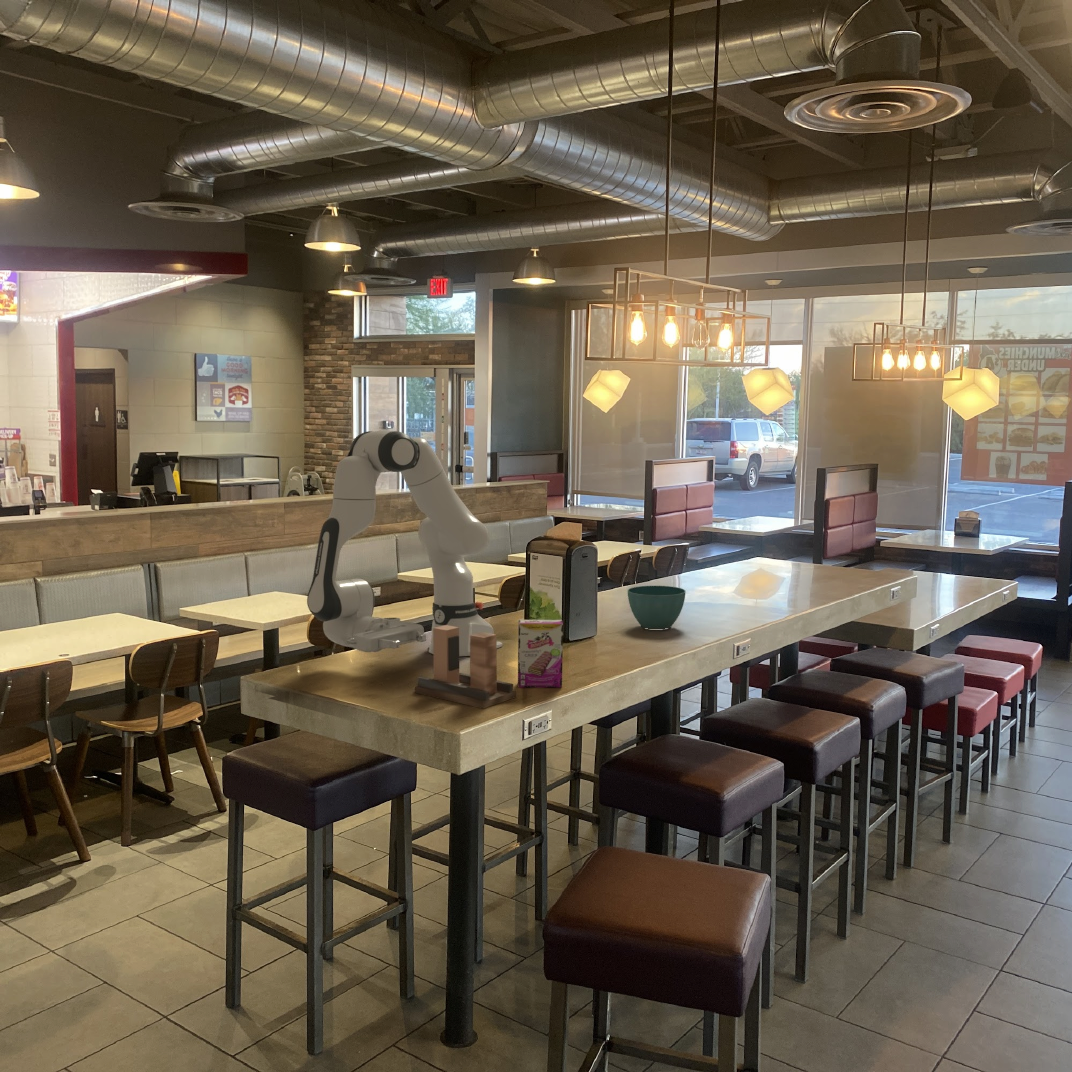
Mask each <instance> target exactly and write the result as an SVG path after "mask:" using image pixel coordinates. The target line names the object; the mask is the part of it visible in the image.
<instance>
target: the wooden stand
mask: <svg viewBox="0 0 1072 1072" xmlns="http://www.w3.org/2000/svg"><path fill="white" fill-rule="evenodd" d="M497 635H498V634H495V633H494V634H490V633H484V632H481V633H477V634H473V635H470V656H469V666H470V667H469V674H467V673H463V672H459V684H453V683H448V682H444V681H439V680H434V678H430V677H424V676H418V677H417V685H415V686H414V693H415V694H419V695H423V696H428V697H431V698H437V699H441V700H446V701H449V702H452V703H453V702H454V703H457V704H463V705H467V706H471V707H474V708H479V709H486V708H488V707H492V706H496V705H497V704H500V703H503V702H506V701H509V700H513V699H514V698H517V690H514V684H513V683H509V682H505V681H501V680H498V679H497V677H498V676H497V675H498V670H497V669H498V668H497V667H498V665H497V664H498V662H497V661H498V660H497V656H498V654H497V652H498V651H497V649H498V648H497V641H498V640H497V639H498V638H497V637H498V636H497Z"/></svg>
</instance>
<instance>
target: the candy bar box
mask: <svg viewBox="0 0 1072 1072" xmlns="http://www.w3.org/2000/svg"><path fill="white" fill-rule="evenodd" d="M563 622H564V621H563V620H562V619H518V623H517V625H518V628H517V630H518V633H517V635H518V637H517V687H518V688H563V661H564V660H563V651H564V650H563V649H564V648H563V647H564V646H563V645H564V643H563V642H564V641H563V640H564V638H563V637H564V624H563Z"/></svg>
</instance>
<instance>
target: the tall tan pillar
mask: <svg viewBox="0 0 1072 1072" xmlns="http://www.w3.org/2000/svg"><path fill="white" fill-rule="evenodd" d="M432 656H433V679H434V680H439V681H444V682H448V683H453V684H459V673H460V656H459V627H454V626H448V625H444V626H440V627H435V628H433V654H432Z"/></svg>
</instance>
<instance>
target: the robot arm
mask: <svg viewBox="0 0 1072 1072" xmlns="http://www.w3.org/2000/svg"><path fill="white" fill-rule="evenodd" d="M351 442H352V443H351V444H350V447H349V451H348V453H347V456H346V457H343V458H342V459H340V460H339V462H338V463H337V465H336V470H335V475H334V481H333V491H332V505H331V509H330V513H329V516H328V518H327V519H326V520H325V522H324V523H323V524H322V525H321V530H320V534H319V539H318V544H317V551H316V558H315V563H314V568H313V575H312V581H311V584H310V587H309V590H308V594H307V597H306V598H307V599H306V602H307V603H306V604H307V608H308V610H309V612H310V613H311V614H312V615H313V616H314V617H315V618H316V619H317V620H318V621H320V622H323V623H322V629H323V633H324V635H325V637H326V638H327V639H328V640H330V642H332V643H335V644H337V645H340V646H344V647H347V648H348V647H349V648H353V649H354V650H356V651H359V652H360V651H361V652H364V653H377V652H380V651H382V650H385V649H398V648H400V646H402V645H405V644H409V643H414V642H419V643H424V642H426V641H427V635H426V634H425V629H424V626H423V625H421V624H418V623H416V622H411V621H406V620H401V618H400V617H383V618H382V617H378V616H375V617H374V616H373V614H374V609H375V601H376V598H375V591H374V589H373V587H372V585H371V583H369V582H368V581H367V580H366V579H364V578H361V577H359V578H358V577H357V578H348V579H344V580H336V578H337V574H338V573H337V571H338V565H339V561H340V554H341V553H340V552H341V550H342V548H343V546H344V545H345V544H346V543H347V542H348V541H349V540H350V539H352V538H354V537H355V536H357V535H360V534H361V533H362V532H365V530H367V529H368V528H369V527H370V526H371V524H372V523H373V521H374V519H375V515H376V510H377V509H376V507H377V503H376V502H377V499H376V498H377V491H376V485H377V481H378V479H379V476H380V475H381V473H389V472H390V473H393V472H394V473H400V474H401V475H402V477H403V480H404V481H405V484H406V486H407V489H408V490H409V492H410V494H411V497H412V498H413V500H414V502H415V504H416V507H417V509H419V511H420V512H421V513H422V514H424V515H425V516H426V517H425V518H423V519H422V521H421V522H420V524H419V527H418V531H417V533H418V540H420V542H421V544H422V546H424V548H425V551H426V553H427V556H428V559H429V563H430V566H431V570H432V575H433V577H432V578H433V603H432V608H431V609H432V616H433V620H432V621H431V622H432V623H431V624H432V625H431V632H430V633H431V634H430V643H428V653H430V654H431V655H433V628H435V627H440V626H444V625H448V626H454V627H459V657H470V635H473V634H477V633H481V632H484V633H490V634H495V632H494V628H493V626H492V624H490V623H489V622H488V621H486V620H485V618H482V617H481V616H480V615H479V614H478V611H477V610H483V608H484V603H483V602H478V601H476V602H474V576H473V574H472V573H473V572H472V571H471V570H470V569H469V567H468V566H467V563H466V561H465V557H472V556H473V557H474V556H478V555H480V554H482V553H483V552H484V551H485V550H486V549H487V547H488V544H489V540H490V533H489V529H488V528H487V527H486V525H485V524H484V523H483V522H481V521H480V520H479V519H478V518H477V517H476V516H474V514H472V511H470V509H469V508H468V507H467V506H466V504H465V503H464V501H462V499H461V497H459V495H458V493H457V492H456V491H455V489H454V487H453V485H452V483H451V482H450V481H451V480H450V479H449V477H448V475H447V473H446V471H445V469H444V467H443V463H442V462H441V460H440V458H439V457H438V455H437V454H436V451H434V449H433V447H432V446H431V445H430V443H429V442H428V441H427V440H426V439H425V438H423V437H419V436H418V437H417V436H414V437H411V436H409V435H408V434H406V433H405V432H402V431H398V430H395V431H394V430H384V429H382V430H381V429H380V430H375V431H373V430H370V431H365V432H362V433H360V434H358V435H357V436H356V437H354V439H353V440H352V441H351ZM502 647H503V642H501V641H499V640H497V649H499V648H502Z"/></svg>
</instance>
